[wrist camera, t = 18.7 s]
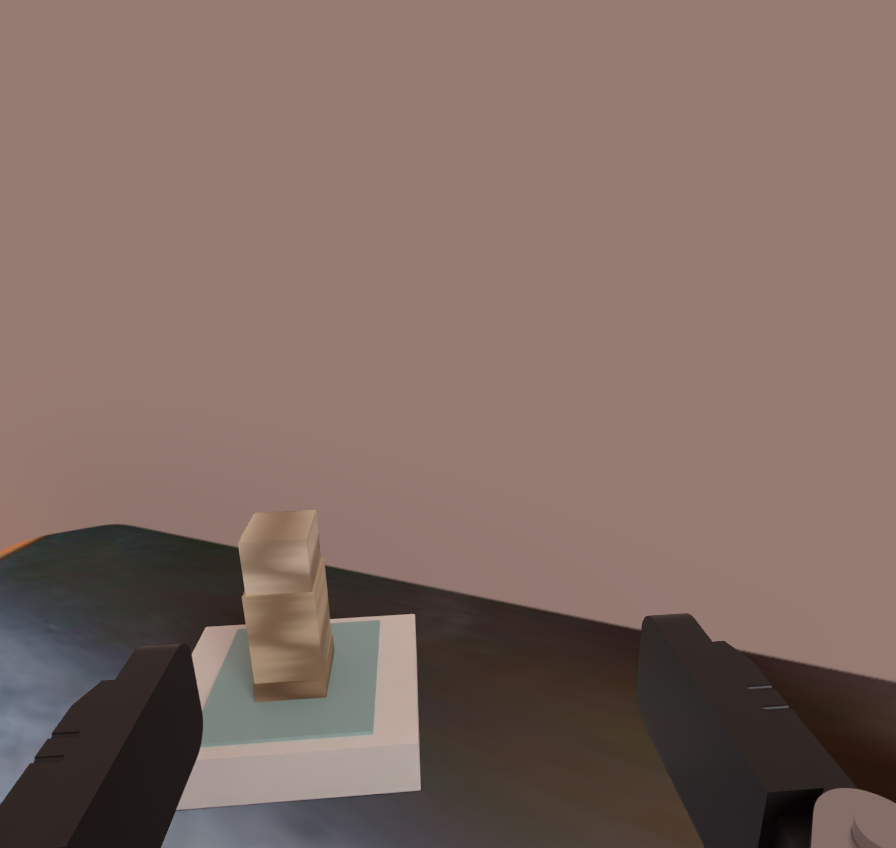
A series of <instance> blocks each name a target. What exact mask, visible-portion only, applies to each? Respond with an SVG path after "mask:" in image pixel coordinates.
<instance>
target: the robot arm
mask: <svg viewBox="0 0 896 848" xmlns="http://www.w3.org/2000/svg"><path fill="white" fill-rule="evenodd" d="M637 700H638V705H639V710H640V714H641V717H642V720H643V723H644V725H645V727H646V729H647V731H648V733H649V735H650V737H651V739H652V741H653V743H654V745H655V747H656V749H657V751H658V753H659V756H660V758H661V760H662V762H663V764H664V766H665V768H666V770H667V772H668V774H669V776H670V778H671V780H672V782H673V784H674V786H675V788H676V790H677V792H678V794H679V796H680V798H681V800H682V802H683V804H684V806H685V808H686V810H687V812H688V814H689V816H690V818H691V820H692V822H693V824H694V826H695V828H696V830H697V832H698V835H699V837H700V839H701V841H702V843H703V845H704V847H705V848H896V803H894V802H892V801H890V800H888V799H886V798H884V797H881V796H879V795H876V794H874V793H871V792H868V791H863V790H859V789H858V788H857V787H856V785H855V784H854V783H853V782H852V781H851V779H850V778H849V777H848V776H847V775H846V773H845V772H844V771H843V770H842V768H841V767H840V766H839V765H838V764H837V762H836V761H835V760H834V759H833V758H832V756H831V755H830V754H829V753H828V752H827V750H826V749H825V748H824V747H823V746H822V744H821V743H820V742H819V741H818V739H817V738H816V737H815V736H814V735H813V733H812V732H811V731H810V730H809V729H808V727H807V726H806V725H805V724H804V723H803V721H802V720H801V719H800V718H799V716H798V715H797V714H796V713H795V712H794V710H793V709H789V707H788V703H787V702H786V701H785V700H784V698H783V697H782V696H781V695H780V694H779V692H778V691H777V690H776V689H773V688H772V684H771V683H770V681H769V680H768V679H767V678H766V677H765V675H764V674H763V673H762V672H761V671H760V669H759V668H758V667H757V666H756V665H755V663H754V662H753V661H752V660H751V659H749V658H748V657H746V656H745V655H744V654H742V653H741V652H739V651H738V650H736V649H735V648H733V647H732V646H730V645H729V644H728V643H726V642H725V641H717V642H712V641H711V639H710V638H709V637H708V636H707V634H706V633H705V632H704V630H703V629H702V628H701V626H700V625H699V624H698V623H697V621H696V620H695V619H694V618H693V616H691V615H690V614H688V613H687V614H669V615H653V616H646V617H645V618H644V620H643V623H642V630H641V641H640V653H639V664H638V676H637ZM202 735H203V714H202V708H201V703H200V697H199V692H198V687H197V681H196V676H195V670H194V665H193V659H192V654H191V651H190V648H189V647H188V645H187V644H173V645H157V646H142V647H139V648H137V649H136V650H135V651H134V652H133V654H132V655H131V657H130V658H129V660H128V661H127V663H126V664H125V666H124V667H123V669H122V670H121V672H120V673H119V675H118V676H117V678H116V679H115V680H105V681H101V682H100V683H99V684H98V685H96V686H95V687H94V688H93V689H91V690H90V691H89V692H88V693H86V694H85V695H84V696H83V697H82V698H80V699H79V700H78V701H77V702H75V703H74V704H73V705H72V706H71V707H70V709H69V710H68V712H67V713H66V714H65V716H64V717H63V719H62V720H61V721H60V723H59V724H58V725H57V727H56V728H55V730H54V731H53V732H52V737H51V739H47V741H46V742H45V743H44V745H43V746H42V748H41V749H40V750H39V752H38V753H37V755H36V756H35V761H34V763H30V764H29V766H28V767H27V768H26V770H25V771H24V773H23V774H22V775H21V777H20V778H19V779H18V781H17V782H16V784H15V785H14V786H13V788H12V789H11V791H10V792H9V793H8V795H7V796H6V798H5V799H4V800H3V802H2V803H1V804H0V848H161V846H162V843H163V841H164V838H165V836H166V833H167V831H168V828H169V826H170V823H171V821H172V819H173V816H174V814H175V811H176V809H177V806H178V804H179V801H180V799H181V796H182V794H183V791H184V789H185V787H186V784H187V782H188V779H189V777H190V774H191V772H192V769H193V767H194V764H195V762H196V759H197V757H198V754H199V751H200V747H201V742H202Z"/></svg>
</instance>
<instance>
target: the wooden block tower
mask: <svg viewBox="0 0 896 848" xmlns="http://www.w3.org/2000/svg"><path fill="white" fill-rule="evenodd" d="M238 546H239V553H240V560H241V567H242V574H243V581H244V588H245V592H244V594H243V596H242V602H243V609H244V616H245V623H246V629H247V636H248V643H249V650H250V657H251V663H252V670H253V677H254V683H253V691H254V697H255V702H268V701H283V700H298V699H312V698H326V696H327V691H328V685H329V680H330V674H331V668H332V663H333V657H334V640H333V635H331V625H330V615H329V604H328V594H327V583H326V573H325V563H324V557H321V555H320V545H319V535H318V524H317V515H316V510H307V511H306V510H305V511H285V512H264V513H254V515H253V517H252V519H251V521H250V523H249V524H248V526H247V528H246V529H245V532H244V533H243V535H242V536H241V538H240V540H239V542H238Z"/></svg>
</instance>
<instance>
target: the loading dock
mask: <svg viewBox="0 0 896 848" xmlns="http://www.w3.org/2000/svg"><path fill="white" fill-rule="evenodd" d="M330 625H331V635H333V640H334V657H333V663H332V668H331V674H330V680H329V685H328V691H327V696H326V698H312V699H298V700H283V701H268V702H255V697H254V691H253V683H254V677H253V670H252V663H251V657H250V650H249V643H248V636H247V629H246V625H230V626H214V627H206V628H205V630H204V632H203V634H202V636H201V637H200V639H199V641H198V643H197V645H196V647H195V649H194V651H193V653H192V659H193V665H194V670H195V676H196V681H197V687H198V692H199V697H200V703H201V708H202V714H203V735H202V742H201V747H200V751H199V754H198V757H197V759H196V762H195V764H194V767H193V769H192V772H191V774H190V777H189V779H188V782H187V784H186V787H185V789H184V791H183V794H182V796H181V799H180V801H179V804H178V806H177V809H176V810H184V809H196V808H209V807H221V806H233V805H246V804H258V803H271V802H283V801H295V800H308V799H320V798H333V797H345V796H357V795H370V794H382V793H394V792H407V791H419V790H421V784H420V750H419V716H418V682H417V650H416V628H415V614H406V615H390V616H374V617H358V618H342V619H330Z"/></svg>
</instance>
